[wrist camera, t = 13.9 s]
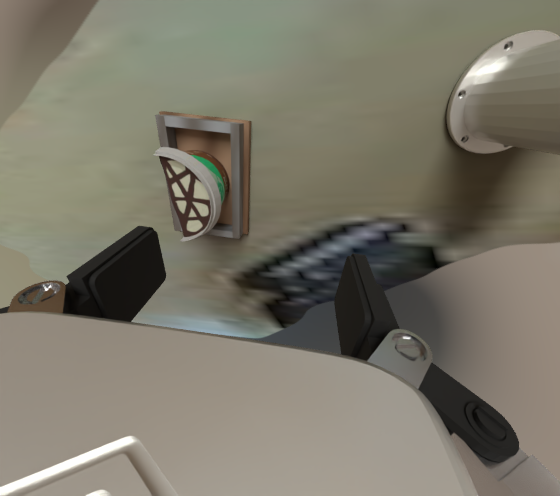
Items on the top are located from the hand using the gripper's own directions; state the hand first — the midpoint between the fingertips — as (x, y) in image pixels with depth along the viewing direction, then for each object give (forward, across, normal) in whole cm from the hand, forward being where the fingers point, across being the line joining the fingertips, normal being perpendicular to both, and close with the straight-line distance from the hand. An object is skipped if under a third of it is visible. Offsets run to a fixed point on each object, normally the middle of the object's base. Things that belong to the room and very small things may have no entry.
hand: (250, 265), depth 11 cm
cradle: (+28, +12, +4) cm, 31 cm away
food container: (+27, +11, +4) cm, 30 cm away
